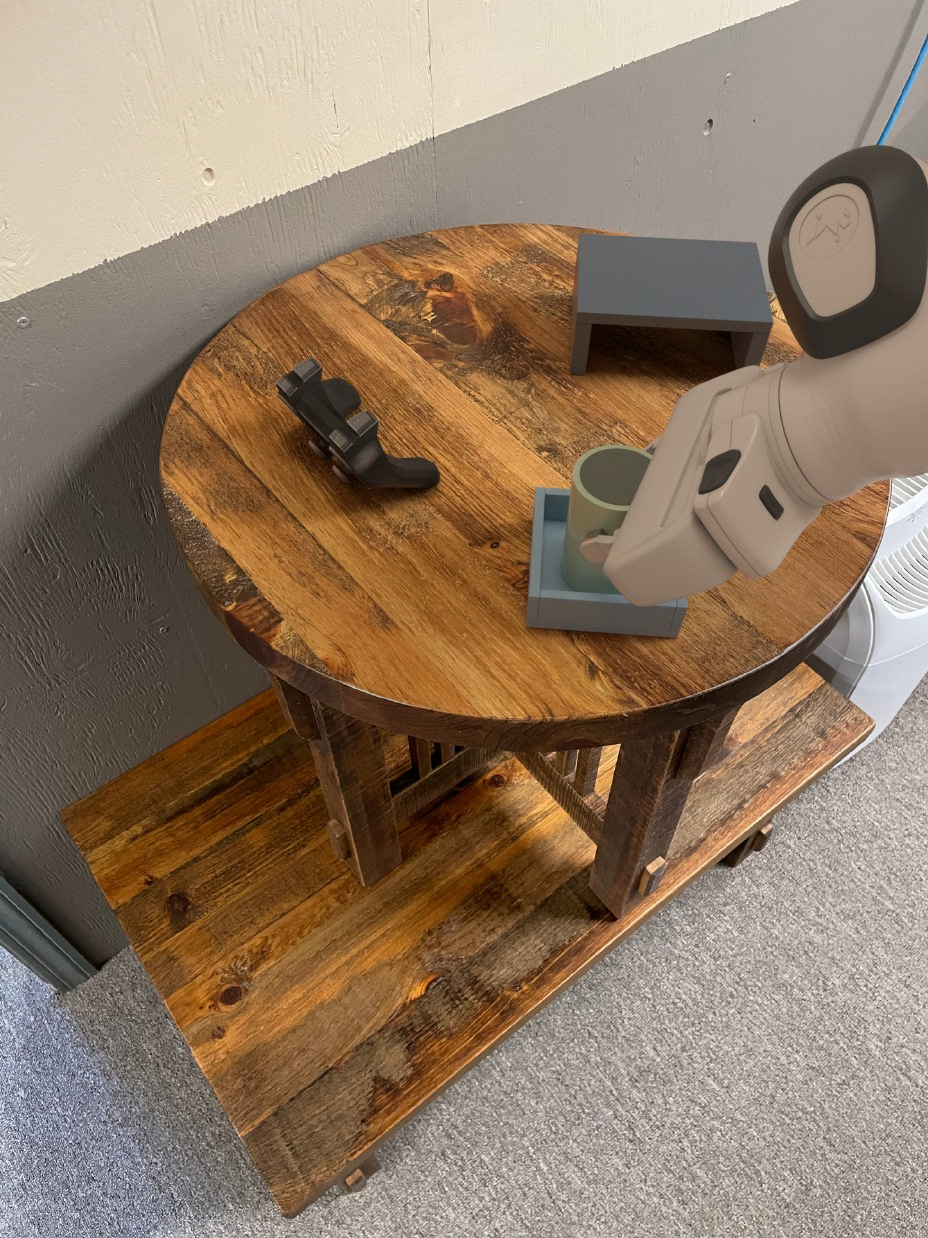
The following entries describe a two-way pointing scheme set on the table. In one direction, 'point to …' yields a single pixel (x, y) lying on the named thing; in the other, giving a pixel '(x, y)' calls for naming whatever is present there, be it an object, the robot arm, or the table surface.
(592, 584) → the cup
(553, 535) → the open bin
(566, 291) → the table surface
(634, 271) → the shelf
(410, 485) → the game controller
